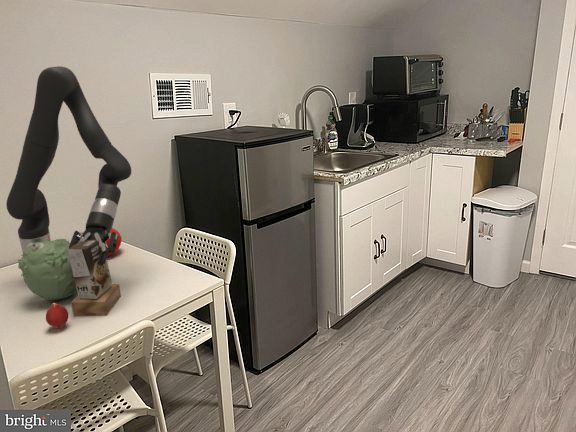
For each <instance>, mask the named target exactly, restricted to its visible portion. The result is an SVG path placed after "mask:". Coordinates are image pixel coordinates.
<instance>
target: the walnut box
mask: <svg viewBox="0 0 576 432" xmlns="http://www.w3.org/2000/svg"><path fill="white" fill-rule="evenodd" d="M121 294H122V293H121V288H120V283H112V286H111V287H110V288H109V289H108V290H107V291H105V292H104V293H103V294H102V295H101V296H99V297H98V298H97V299H83V298H79V297H78V295H77V296H76V297H74V299H73V300H72V301H71V302H70V304H71V310H72V315H73V317H96V316H97V317H102V316H108V315H109V314H110V312H111V311H112V309H113V308H114V307H115V305H116V304H117V302H118V301H119V300H120V298H121V297H122V295H121Z"/></svg>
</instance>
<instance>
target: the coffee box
mask: <svg viewBox="0 0 576 432" xmlns="http://www.w3.org/2000/svg"><path fill="white" fill-rule="evenodd" d="M98 242H99V241H97V240H86V241H81V242H79V243H77V244H75V245H74V246H72V247H70V248H69V249H67V250H68V254H69V259H70V263H71V267H72V271H73V276H74V280H75V284H76V288H77V291H76V292H77V296H78V297H79V298H83V299H97V298H98V297H99V296H101V295H102V294H103V293H104V292H105V291H107V290H108V289H109V288H110V287H111V286H112V284H113V282H112V277H111V276H112V275H111V270H110V266H109V263H108V258H107V259H106V263H105V264H104V265H103V266H100V265H98V259H99V256H100V253H101V252H102V250H101V248H100V246H99V244H98Z"/></svg>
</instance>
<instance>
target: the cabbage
mask: <svg viewBox="0 0 576 432" xmlns="http://www.w3.org/2000/svg"><path fill="white" fill-rule="evenodd" d="M69 245H70V241H69V240H67V239H66V238H59V239H58V238H57V239H53V240H51V241H50V240H48V241H45V242H36V243H30V244H29V245H27V247H26V250H24V251H23V252H22V254H21V256H22V257H21V258H19V259H18V262H17V264H18V266H17V267H18V269H20V270H21V272H22V273H21V275H20V276H21V277H23V282H24V284H25V285H26V287H27V288H28V289H29V291H31V292H32V293H33V294H34V295H35V296H37V297H39V298H41V299H43V300H49V301H60V300H63V299H66V298H69V297H70V296H72V295H73V294H75V293H76V292H77V288H76V284H75V280H74V276H73V271H72V267H71V263H70V259H69V254H68V250H67V249H69Z"/></svg>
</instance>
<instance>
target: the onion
mask: <svg viewBox="0 0 576 432" xmlns="http://www.w3.org/2000/svg"><path fill="white" fill-rule="evenodd" d="M68 319H69V311H68V309H67V308H66V307H65V306H64V305H62V304H57V303H56V302H53V303H51V306H50V307H49V308H48V309H47V311H46V313H45V321H46V323H47V324H48V325H49V326H51V327H54V328H57V329H61V328H62V327H63V326H64V325H65V324H66V323H67V322H68Z"/></svg>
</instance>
